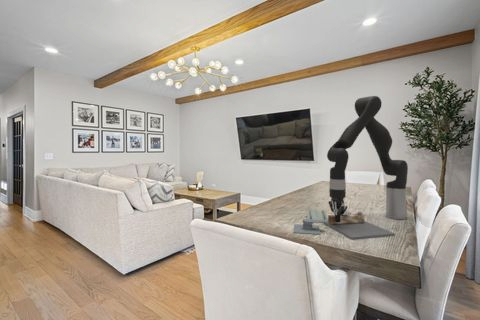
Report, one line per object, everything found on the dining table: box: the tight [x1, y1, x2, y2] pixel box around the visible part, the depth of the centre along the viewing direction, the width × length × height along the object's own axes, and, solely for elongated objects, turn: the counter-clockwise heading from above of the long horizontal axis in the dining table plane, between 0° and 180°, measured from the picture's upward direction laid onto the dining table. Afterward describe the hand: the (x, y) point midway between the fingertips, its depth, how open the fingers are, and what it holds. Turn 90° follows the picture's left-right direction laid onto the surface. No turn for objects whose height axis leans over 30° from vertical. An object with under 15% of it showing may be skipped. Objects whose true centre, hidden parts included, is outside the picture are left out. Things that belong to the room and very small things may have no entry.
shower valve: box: [293, 218, 325, 236], centre depth 113 cm, size 12×6×15 cm
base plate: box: [323, 211, 396, 241], centre depth 114 cm, size 22×24×6 cm
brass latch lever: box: [327, 213, 365, 224], centre depth 120 cm, size 19×4×4 cm, turn 98°
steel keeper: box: [343, 210, 352, 215], centre depth 121 cm, size 4×6×6 cm
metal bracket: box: [305, 209, 328, 221], centre depth 130 cm, size 14×6×15 cm
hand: (337, 221), depth 116 cm, fingers closed
